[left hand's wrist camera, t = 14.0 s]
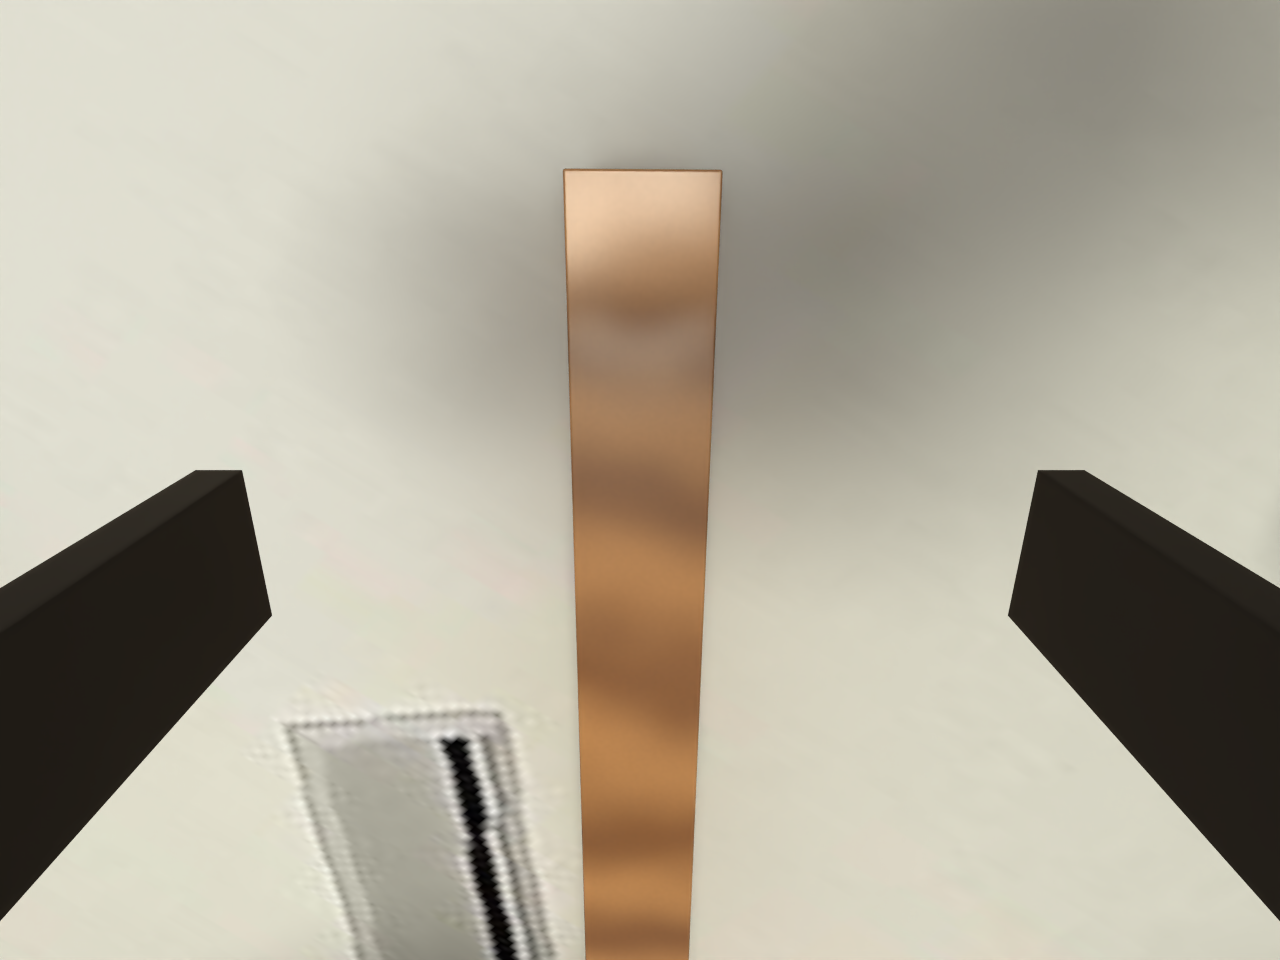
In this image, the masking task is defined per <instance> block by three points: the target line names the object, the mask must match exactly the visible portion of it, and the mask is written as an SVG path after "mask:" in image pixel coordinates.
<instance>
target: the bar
mask: <svg viewBox="0 0 1280 960" xmlns="http://www.w3.org/2000/svg"><path fill="white" fill-rule="evenodd" d="M563 188H564V222H565V257H566V292H567V326H568V361H569V396H570V430H571V465H572V500H573V534H574V569H575V603H576V638H577V673H578V707H579V742H580V777H581V811H582V846H583V881H584V915H585V950H586V960H689V939H690V915H691V892H692V869H693V846H694V823H695V799H696V776H697V753H698V730H699V706H700V683H701V660H702V637H703V614H704V590H705V567H706V544H707V521H708V497H709V474H710V451H711V428H712V405H713V381H714V358H715V335H716V312H717V288H718V265H719V242H720V219H721V196H722V170H684V169H564V170H563Z"/></svg>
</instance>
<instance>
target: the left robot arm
mask: <svg viewBox="0 0 1280 960" xmlns="http://www.w3.org/2000/svg"><path fill="white" fill-rule="evenodd" d="M271 616H272V613H271V608H270V603H269V599H268V594H267V589H266V584H265V579H264V574H263V570H262V565H261V560H260V555H259V550H258V545H257V540H256V536H255V531H254V526H253V521H252V516H251V511H250V507H249V502H248V497H247V492H246V487H245V482H244V478H243V473H242V470H195V471H194V472H192V473H190V474H189V475H187V476H185V477H184V478H182V479H180V480H179V481H177V482H175V483H174V484H172V485H170V486H169V487H167V488H165V489H164V490H162V491H160V492H159V493H157V494H155V495H154V496H152V497H150V498H149V499H147V500H145V501H144V502H142V503H141V504H139V505H137V506H136V507H134V508H132V509H131V510H129V511H127V512H126V513H124V514H122V515H121V516H119V517H117V518H116V519H114V520H112V521H111V522H109V523H107V524H106V525H104V526H102V527H101V528H99V529H97V530H96V531H94V532H93V533H91V534H89V535H88V536H86V537H84V538H83V539H81V540H79V541H78V542H76V543H74V544H73V545H71V546H69V547H68V548H66V549H64V550H63V551H61V552H59V553H58V554H56V555H54V556H53V557H51V558H49V559H48V560H46V561H44V562H43V563H41V564H40V565H38V566H36V567H35V568H33V569H31V570H30V571H28V572H26V573H25V574H23V575H21V576H20V577H18V578H16V579H15V580H13V581H11V582H10V583H8V584H6V585H5V586H3V587H1V588H0V921H1V919H2V918H3V917H4V916H5V915H6V914H7V913H8V912H9V910H10V909H11V908H12V907H13V906H14V905H15V904H16V903H17V902H18V900H19V899H20V898H21V897H22V896H23V895H24V894H25V893H26V891H27V890H28V889H29V888H30V887H31V886H32V885H33V884H34V882H35V881H36V880H37V879H38V878H39V877H40V876H41V875H42V873H43V872H44V871H45V870H46V869H47V868H48V867H49V866H50V864H51V863H52V862H53V861H54V860H55V859H56V858H57V857H58V855H59V854H60V853H61V852H62V851H63V850H64V849H65V848H66V846H67V845H68V844H69V843H70V842H71V841H72V840H73V839H74V837H75V836H76V835H77V834H78V833H79V832H80V831H81V830H82V828H83V827H84V826H85V825H86V824H87V823H88V822H89V821H90V819H91V818H92V817H93V816H94V815H95V814H96V813H97V812H98V810H99V809H100V808H101V807H102V806H103V805H104V804H105V803H106V801H107V800H108V799H109V798H110V797H111V796H112V795H113V794H114V792H115V791H116V790H117V789H118V788H119V787H120V786H121V785H122V783H123V782H124V781H125V780H126V779H127V778H128V777H129V776H130V775H131V773H132V772H133V771H134V770H135V769H136V768H137V767H138V766H139V764H140V763H141V762H142V761H143V760H144V759H145V758H146V757H147V755H148V754H149V753H150V752H151V751H152V750H153V749H154V748H155V746H156V745H157V744H158V743H159V742H160V741H161V740H162V739H163V737H164V736H165V735H166V734H167V733H168V732H169V731H170V730H171V728H172V727H173V726H174V725H175V724H176V723H177V722H178V721H179V719H180V718H181V717H182V716H183V715H184V714H185V713H186V712H187V710H188V709H189V708H190V707H191V706H192V705H193V704H194V703H195V701H196V700H197V699H198V698H199V697H200V696H201V695H202V694H203V692H204V691H205V690H206V689H207V688H208V687H209V686H210V685H211V683H212V682H213V681H214V680H215V679H216V678H217V677H218V676H219V674H220V673H221V672H222V671H223V670H224V669H225V668H226V667H227V665H228V664H229V663H230V662H231V661H232V660H233V659H234V658H235V657H236V655H237V654H238V653H239V652H240V651H241V650H242V649H243V648H244V646H245V645H246V644H247V643H248V642H249V641H250V640H251V639H252V637H253V636H254V635H255V634H256V633H257V632H258V631H259V630H260V628H261V627H262V626H263V625H264V624H265V623H266V622H267V621H268V619H269V618H270V617H271ZM1008 616H1009V617H1010V618H1011V619H1012V621H1013V622H1014V623H1015V624H1016V625H1017V626H1018V627H1019V628H1020V630H1021V631H1022V632H1023V633H1024V634H1025V635H1026V636H1027V637H1028V639H1029V640H1030V641H1031V642H1032V643H1033V644H1034V645H1035V646H1036V648H1037V649H1038V650H1039V651H1040V652H1041V653H1042V654H1043V655H1044V657H1045V658H1046V659H1047V660H1048V661H1049V662H1050V663H1051V664H1052V665H1053V667H1054V668H1055V669H1056V670H1057V671H1058V672H1059V673H1060V674H1061V676H1062V677H1063V678H1064V679H1065V680H1066V681H1067V682H1068V683H1069V685H1070V686H1071V687H1072V688H1073V689H1074V690H1075V691H1076V692H1077V694H1078V695H1079V696H1080V697H1081V698H1082V699H1083V700H1084V701H1085V703H1086V704H1087V705H1088V706H1089V707H1090V708H1091V709H1092V710H1093V712H1094V713H1095V714H1096V715H1097V716H1098V717H1099V718H1100V719H1101V721H1102V722H1103V723H1104V724H1105V725H1106V726H1107V727H1108V728H1109V730H1110V731H1111V732H1112V733H1113V734H1114V735H1115V736H1116V737H1117V739H1118V740H1119V741H1120V742H1121V743H1122V744H1123V745H1124V746H1125V748H1126V749H1127V750H1128V751H1129V752H1130V753H1131V754H1132V755H1133V757H1134V758H1135V759H1136V760H1137V761H1138V762H1139V763H1140V764H1141V766H1142V767H1143V768H1144V769H1145V770H1146V771H1147V772H1148V773H1149V775H1150V776H1151V777H1152V778H1153V779H1154V780H1155V781H1156V782H1157V784H1158V785H1159V786H1160V787H1161V788H1162V789H1163V790H1164V791H1165V792H1166V794H1167V795H1168V796H1169V797H1170V798H1171V799H1172V800H1173V801H1174V803H1175V804H1176V805H1177V806H1178V807H1179V808H1180V809H1181V810H1182V812H1183V813H1184V814H1185V815H1186V816H1187V817H1188V818H1189V819H1190V821H1191V822H1192V823H1193V824H1194V825H1195V826H1196V827H1197V828H1198V830H1199V831H1200V832H1201V833H1202V834H1203V835H1204V836H1205V837H1206V839H1207V840H1208V841H1209V842H1210V843H1211V844H1212V845H1213V846H1214V848H1215V849H1216V850H1217V851H1218V852H1219V853H1220V854H1221V855H1222V857H1223V858H1224V859H1225V860H1226V861H1227V862H1228V863H1229V864H1230V866H1231V867H1232V868H1233V869H1234V870H1235V871H1236V872H1237V873H1238V875H1239V876H1240V877H1241V878H1242V879H1243V880H1244V881H1245V882H1246V884H1247V885H1248V886H1249V887H1250V888H1251V889H1252V890H1253V891H1254V893H1255V894H1256V895H1257V896H1258V897H1259V898H1260V899H1261V900H1262V902H1263V903H1264V904H1265V905H1266V906H1267V907H1268V908H1269V909H1270V910H1271V912H1272V913H1273V914H1274V915H1275V916H1276V917H1277V918H1278V919H1279V921H1280V588H1279V587H1277V586H1275V585H1274V584H1272V583H1270V582H1269V581H1267V580H1265V579H1264V578H1262V577H1260V576H1259V575H1257V574H1255V573H1254V572H1252V571H1250V570H1249V569H1247V568H1245V567H1244V566H1242V565H1240V564H1239V563H1237V562H1236V561H1234V560H1232V559H1231V558H1229V557H1227V556H1226V555H1224V554H1222V553H1221V552H1219V551H1217V550H1216V549H1214V548H1212V547H1211V546H1209V545H1207V544H1206V543H1204V542H1202V541H1201V540H1199V539H1197V538H1196V537H1194V536H1192V535H1191V534H1189V533H1187V532H1186V531H1184V530H1183V529H1181V528H1179V527H1178V526H1176V525H1174V524H1173V523H1171V522H1169V521H1168V520H1166V519H1164V518H1163V517H1161V516H1159V515H1158V514H1156V513H1154V512H1153V511H1151V510H1149V509H1148V508H1146V507H1144V506H1143V505H1141V504H1139V503H1138V502H1136V501H1135V500H1133V499H1131V498H1130V497H1128V496H1126V495H1125V494H1123V493H1121V492H1120V491H1118V490H1116V489H1115V488H1113V487H1111V486H1110V485H1108V484H1106V483H1105V482H1103V481H1101V480H1100V479H1098V478H1096V477H1095V476H1093V475H1091V474H1090V473H1088V472H1086V471H1085V470H1038V473H1037V478H1036V482H1035V487H1034V492H1033V497H1032V502H1031V507H1030V511H1029V516H1028V521H1027V526H1026V531H1025V536H1024V540H1023V545H1022V550H1021V555H1020V560H1019V565H1018V570H1017V574H1016V579H1015V584H1014V589H1013V594H1012V599H1011V603H1010V608H1009V613H1008Z"/></svg>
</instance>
